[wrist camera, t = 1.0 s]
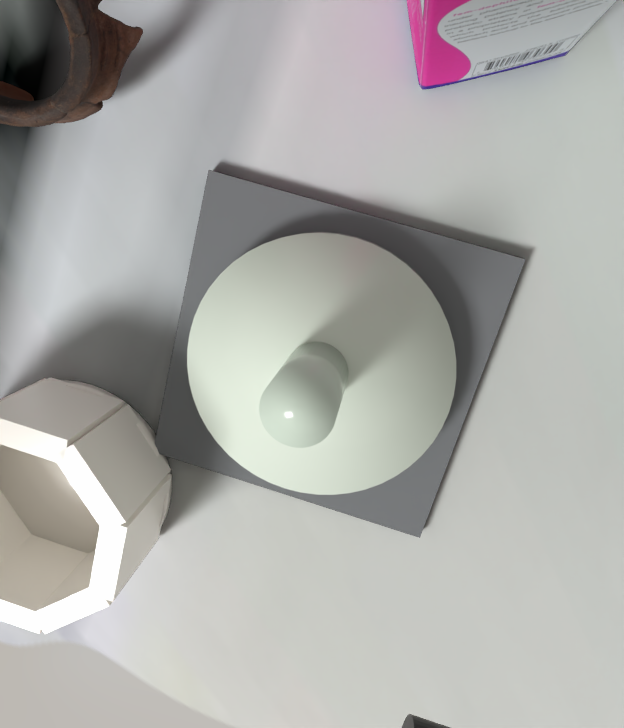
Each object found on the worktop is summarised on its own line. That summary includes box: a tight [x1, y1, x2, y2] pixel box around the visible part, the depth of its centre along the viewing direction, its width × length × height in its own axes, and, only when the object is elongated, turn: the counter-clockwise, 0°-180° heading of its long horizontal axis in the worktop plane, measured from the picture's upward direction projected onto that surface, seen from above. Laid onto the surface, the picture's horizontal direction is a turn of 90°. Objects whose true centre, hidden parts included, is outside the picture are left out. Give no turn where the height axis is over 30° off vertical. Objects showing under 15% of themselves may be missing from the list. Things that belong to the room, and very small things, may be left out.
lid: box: [187, 232, 456, 495], centre depth 23 cm, size 12×12×6 cm
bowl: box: [0, 377, 172, 634], centre depth 28 cm, size 11×11×5 cm
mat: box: [155, 170, 525, 538], centre depth 26 cm, size 14×14×1 cm
